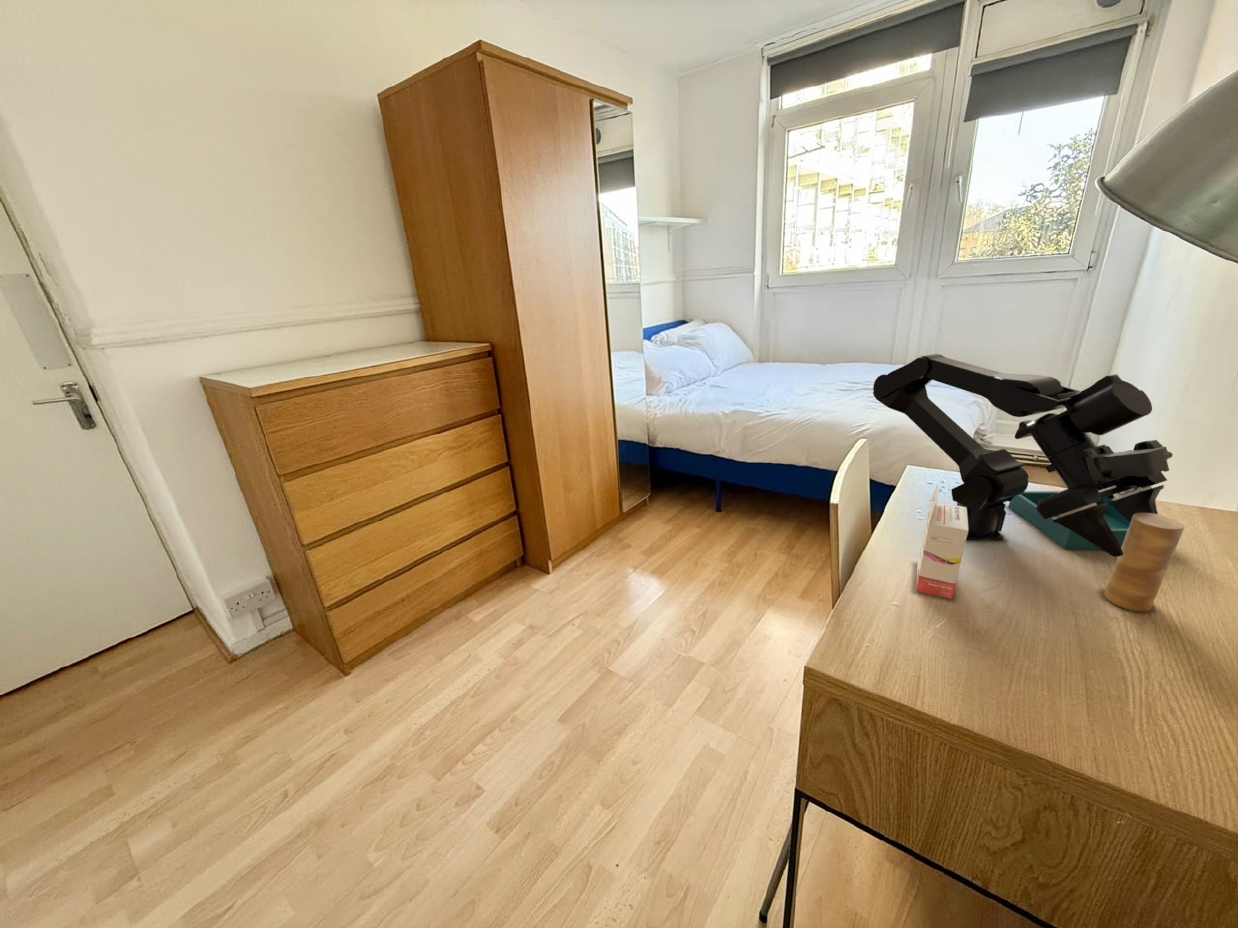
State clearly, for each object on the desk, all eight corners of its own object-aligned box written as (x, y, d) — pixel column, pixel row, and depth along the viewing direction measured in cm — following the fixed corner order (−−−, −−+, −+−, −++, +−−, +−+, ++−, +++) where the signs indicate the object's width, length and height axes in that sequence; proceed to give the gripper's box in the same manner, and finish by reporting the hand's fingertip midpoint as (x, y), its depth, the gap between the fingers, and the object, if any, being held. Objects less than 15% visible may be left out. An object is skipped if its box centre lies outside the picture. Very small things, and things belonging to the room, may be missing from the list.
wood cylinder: (1122, 611, 68) (1153, 529, 64) (1095, 590, 73) (1123, 512, 68) (1161, 612, 68) (1196, 529, 63) (1131, 590, 72) (1162, 512, 68)
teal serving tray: (1064, 548, 83) (1070, 530, 82) (1008, 507, 98) (1012, 491, 96) (1168, 549, 81) (1176, 531, 80) (1095, 507, 96) (1100, 490, 94)
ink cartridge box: (953, 600, 73) (974, 512, 67) (915, 591, 75) (932, 505, 70) (952, 571, 79) (971, 488, 74) (917, 563, 82) (932, 482, 76)
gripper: (1084, 433, 64) (1168, 547, 58) (1171, 413, 69) (1255, 514, 64) (1008, 469, 74) (1073, 570, 68) (1088, 449, 79) (1155, 540, 73)
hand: (1140, 548), depth 68 cm, fingers open, 9 cm apart
